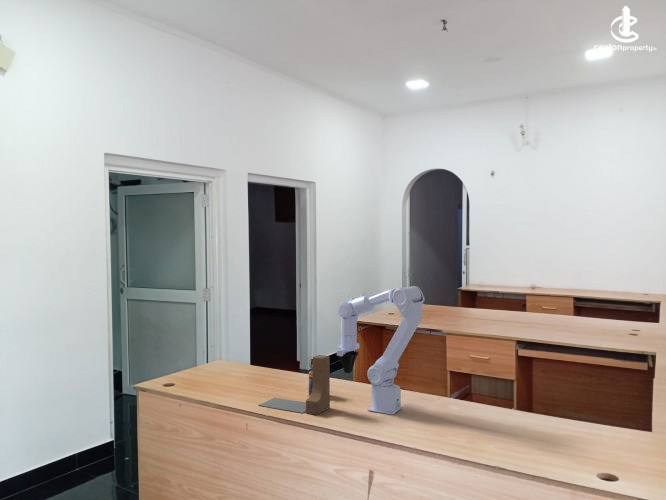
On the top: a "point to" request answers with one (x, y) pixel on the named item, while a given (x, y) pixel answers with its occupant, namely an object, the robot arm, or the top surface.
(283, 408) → the mat
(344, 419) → the top surface
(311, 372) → the supplement bottle
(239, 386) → the top surface
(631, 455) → the top surface
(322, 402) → the wooden block
